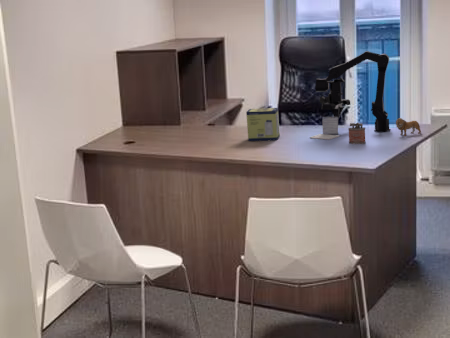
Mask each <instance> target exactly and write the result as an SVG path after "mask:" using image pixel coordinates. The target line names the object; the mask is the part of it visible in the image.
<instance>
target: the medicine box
mask: <svg viewBox="0 0 450 338" xmlns="http://www.w3.org/2000/svg"><path fill="white" fill-rule="evenodd" d="M322 134H328V135H339V119H338V117H334V116H322Z"/></svg>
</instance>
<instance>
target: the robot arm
mask: <svg viewBox="0 0 450 338" xmlns="http://www.w3.org/2000/svg"><path fill="white" fill-rule="evenodd" d="M367 60H368V61H371V62H374V63H376V66H377V71H378V73H377V81H376V83H377V84H376V89H375V90H376V91H375V100H374V101H372V102H371V109H370V111H371V115H372V116H373V117H375V120H374V130H373V131H374V132H378V133H380V132H381V133H382V132H383V133H386V132H388V131H389V132H390V131H391V130H392V129H391V128H390V119H389V118H388V116H389V113H388V112H387V111H386V110H385V105H384V94H385V93H384V92H385V84H386V83H385V81H386V72H387V69H388V65H389V62H390V57H389V55H388V54H386V53H382V54H380V53H378V52H373V51H372V52H371V51H369V50H365V51H364V52H362V53H361V54H359V55H358V56H355V57H354V58H352V59H350V60H348V61H346V62H345V63H341V64H338V65H336V66H333V67H331V68H330V69H329V71H328V76H327V77H326V78H316V79H315V85H314V86H315V87H314V88H315V92H316V93H318V92H319V93H321V92H328V90H329V93H328V95H327V96H323V95H322V96H320V97H319V103H320V104H321V110H326V111H327V110H328V111H331V113H332V115H333V117H338V120H339V119H340V116H341V114H342V112H343V110H344V109H345V106H343V105H346V106H350V105H351V100H350V99H345V98H342V96H343V95H344V92H342V83H345V80H344V79H343V77H340V76H342V75H343V74H345V72H347V71H348V70H350V69H352V68H353V67H355V66H358V65H360V64H361V63H363V62H365V61H367ZM339 77H340V78H339ZM332 80H333V81H332Z"/></svg>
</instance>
